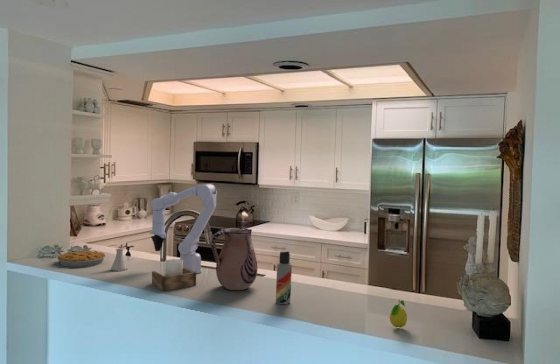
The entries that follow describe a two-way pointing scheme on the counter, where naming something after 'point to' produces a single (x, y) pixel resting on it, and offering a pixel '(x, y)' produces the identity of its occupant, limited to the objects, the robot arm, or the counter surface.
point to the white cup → (173, 267)
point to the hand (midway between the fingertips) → (157, 250)
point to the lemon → (398, 315)
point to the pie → (81, 258)
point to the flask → (119, 261)
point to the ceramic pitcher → (235, 259)
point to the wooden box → (174, 280)
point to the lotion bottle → (283, 279)
